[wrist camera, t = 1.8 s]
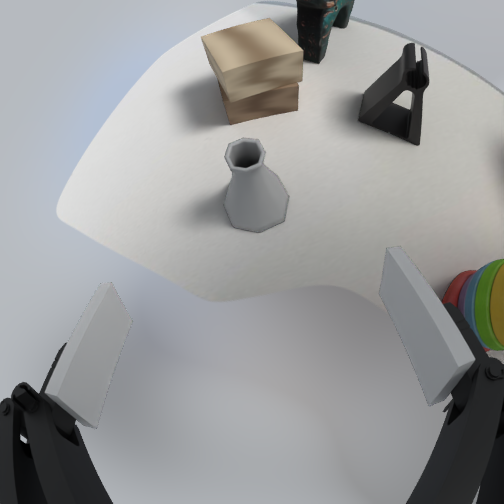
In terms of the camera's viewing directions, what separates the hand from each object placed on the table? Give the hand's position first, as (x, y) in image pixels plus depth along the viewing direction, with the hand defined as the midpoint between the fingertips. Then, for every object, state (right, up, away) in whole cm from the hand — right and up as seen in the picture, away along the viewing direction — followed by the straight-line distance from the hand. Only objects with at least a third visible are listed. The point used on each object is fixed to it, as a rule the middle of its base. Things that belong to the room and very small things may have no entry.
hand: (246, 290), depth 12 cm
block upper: (0, +24, +16) cm, 29 cm away
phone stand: (+19, +20, +19) cm, 33 cm away
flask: (+1, +7, +18) cm, 19 cm away
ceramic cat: (+13, +38, +23) cm, 47 cm away
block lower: (+1, +23, +21) cm, 31 cm away
